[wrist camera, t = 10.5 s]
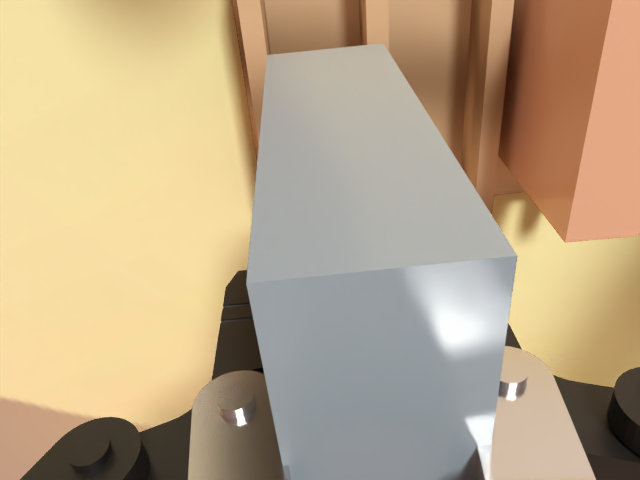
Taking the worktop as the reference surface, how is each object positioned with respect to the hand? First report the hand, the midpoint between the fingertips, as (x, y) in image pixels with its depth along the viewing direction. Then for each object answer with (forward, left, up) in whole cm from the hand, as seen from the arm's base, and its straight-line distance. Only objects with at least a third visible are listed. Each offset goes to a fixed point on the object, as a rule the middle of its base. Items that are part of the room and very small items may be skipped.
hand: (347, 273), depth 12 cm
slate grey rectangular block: (0, 0, +1) cm, 1 cm away
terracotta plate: (0, +9, -10) cm, 13 cm away
